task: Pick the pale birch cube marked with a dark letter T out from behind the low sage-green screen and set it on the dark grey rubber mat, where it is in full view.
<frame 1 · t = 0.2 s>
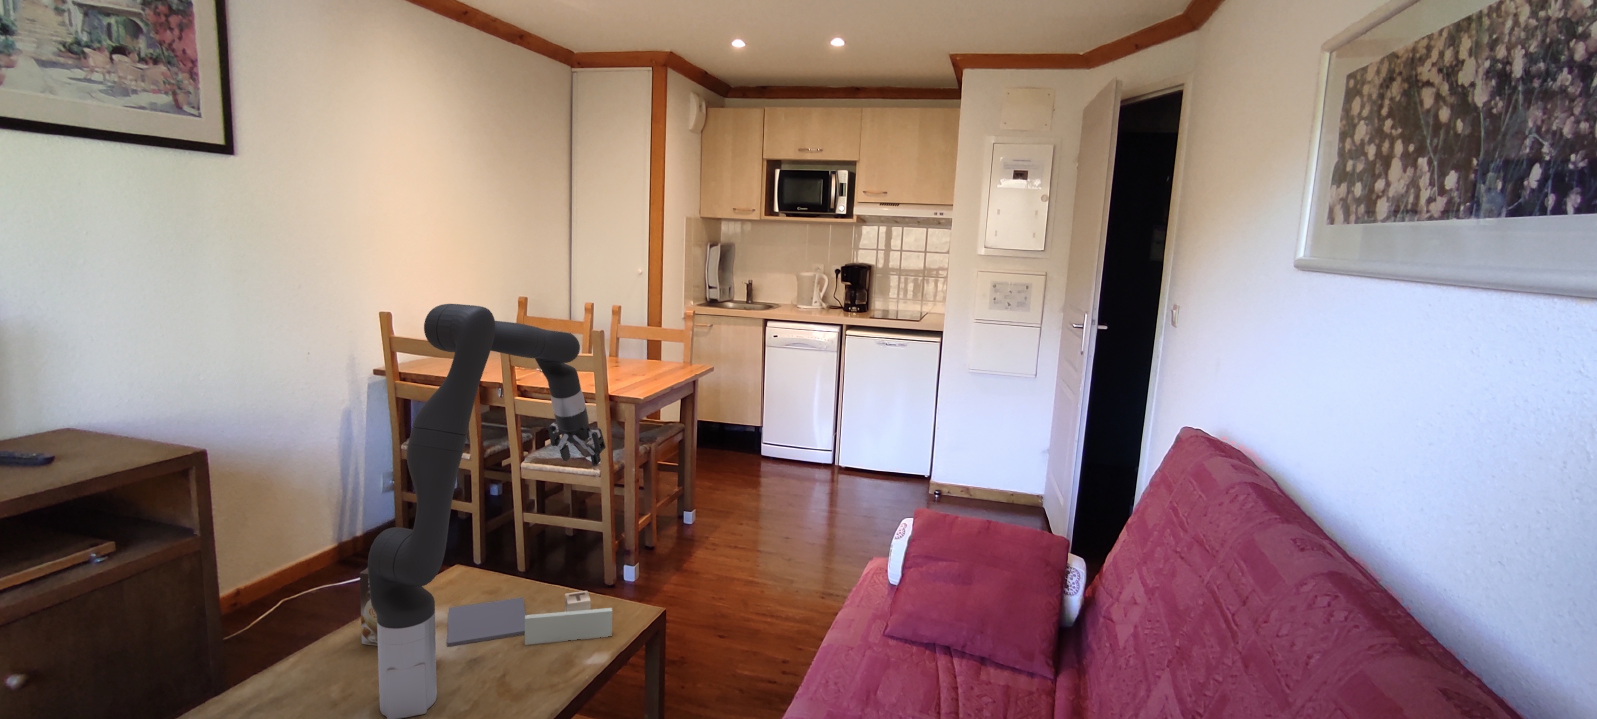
hand: (581, 461, 181), 31 cm above the table, tool tilted 20°, fingers open, 8 cm apart
letter cube: (577, 617, 166), on the table
coffee box: (390, 639, 152), on the table
mat: (487, 621, 161), on the table
screen: (569, 638, 156), on the table
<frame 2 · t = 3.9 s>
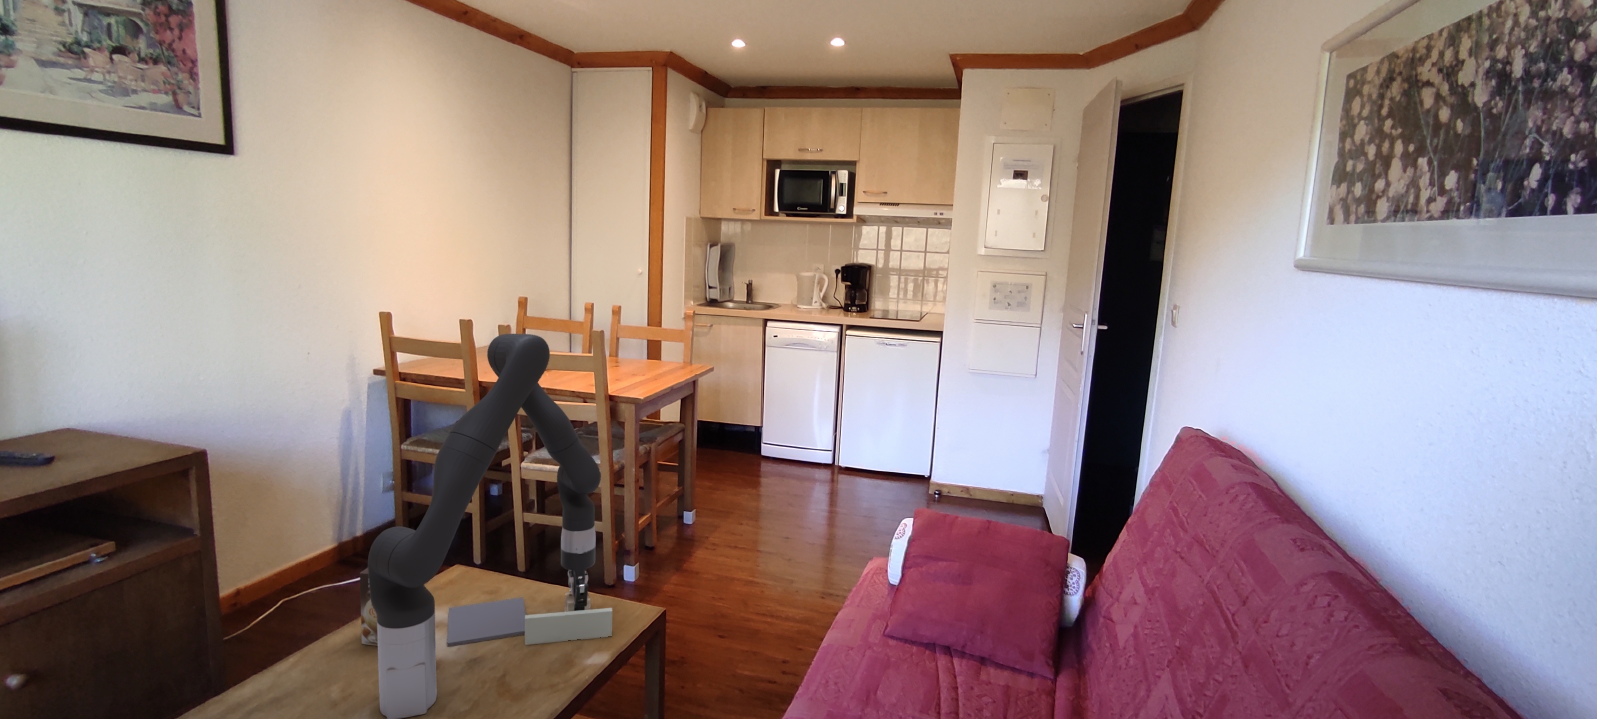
hand: (577, 613, 165), 1 cm above the table, tool pointing down, fingers closed on letter cube, 5 cm apart
letter cube: (577, 616, 166), on the table, touching gripper
everything else where it was.
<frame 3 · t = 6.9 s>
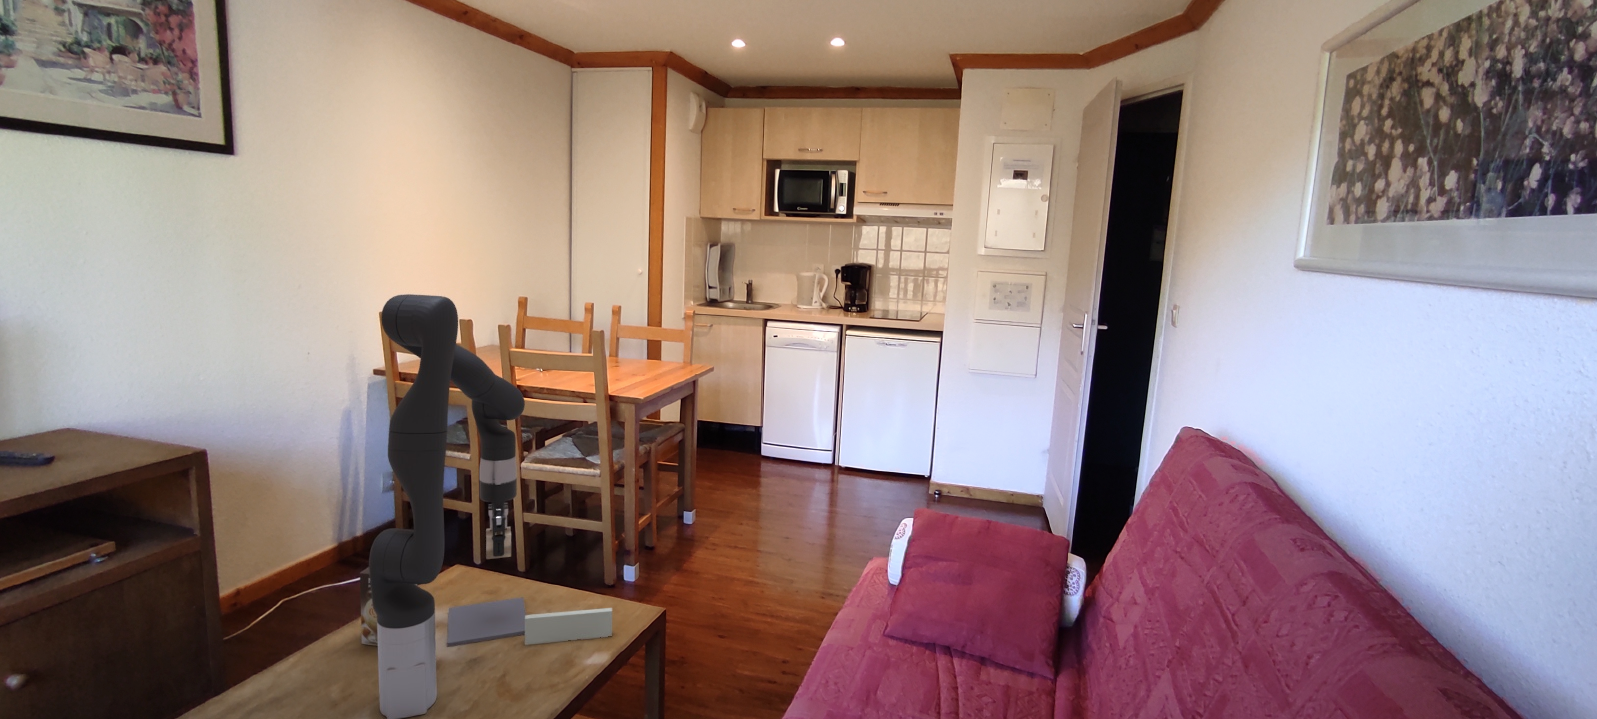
hand: (498, 550, 159), 17 cm above the table, tool pointing down, fingers closed on letter cube, 5 cm apart
letter cube: (498, 553, 159), point 16 cm above the table, touching gripper
everything else where it was.
when the fingers open (3 cm above the table, at t = 10.4 s): letter cube drops 1 cm, resting on mat.
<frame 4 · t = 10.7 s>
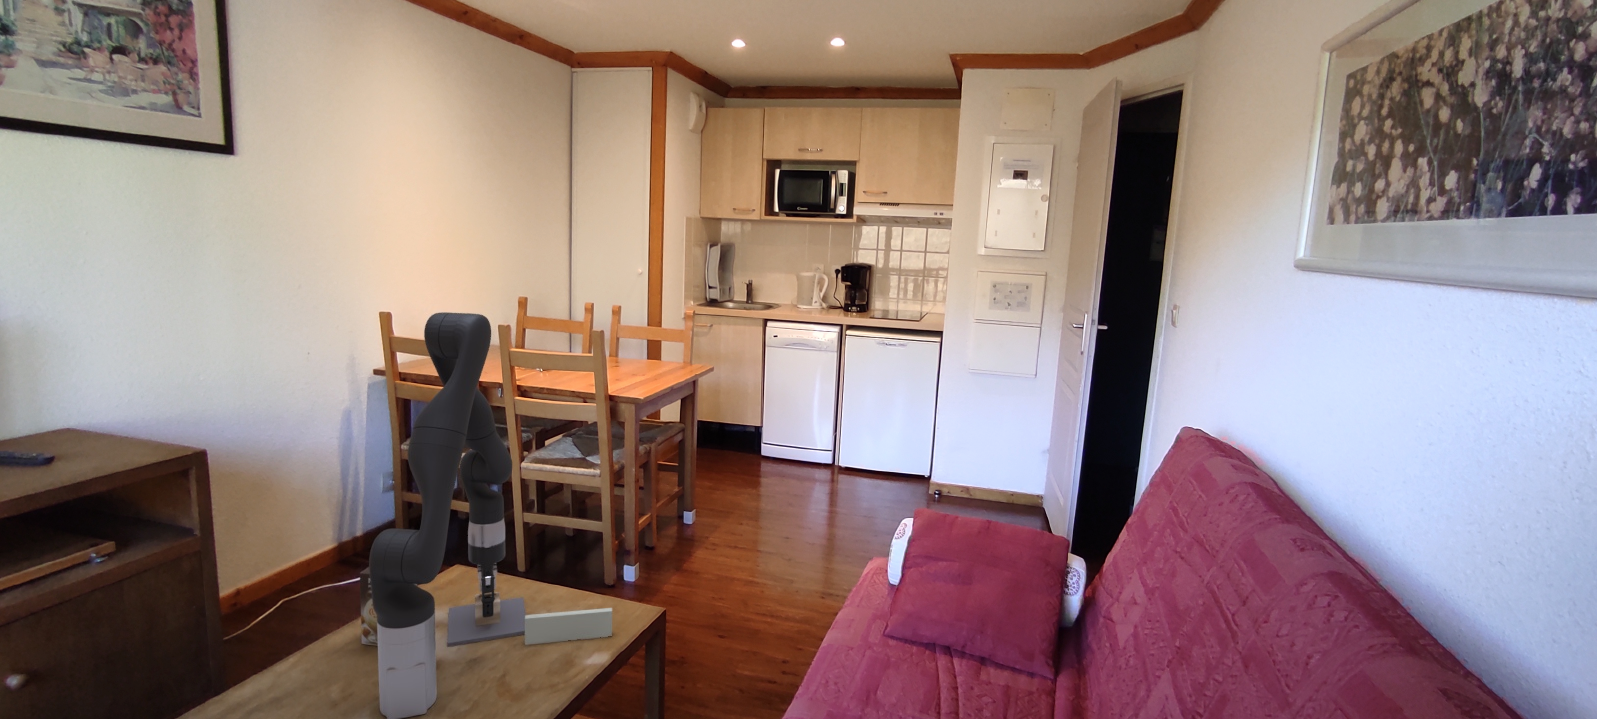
hand: (487, 607, 161), 3 cm above the table, tool pointing down, fingers open, 7 cm apart
letter cube: (487, 618, 161), point 1 cm above the table, touching mat
everything else where it was.
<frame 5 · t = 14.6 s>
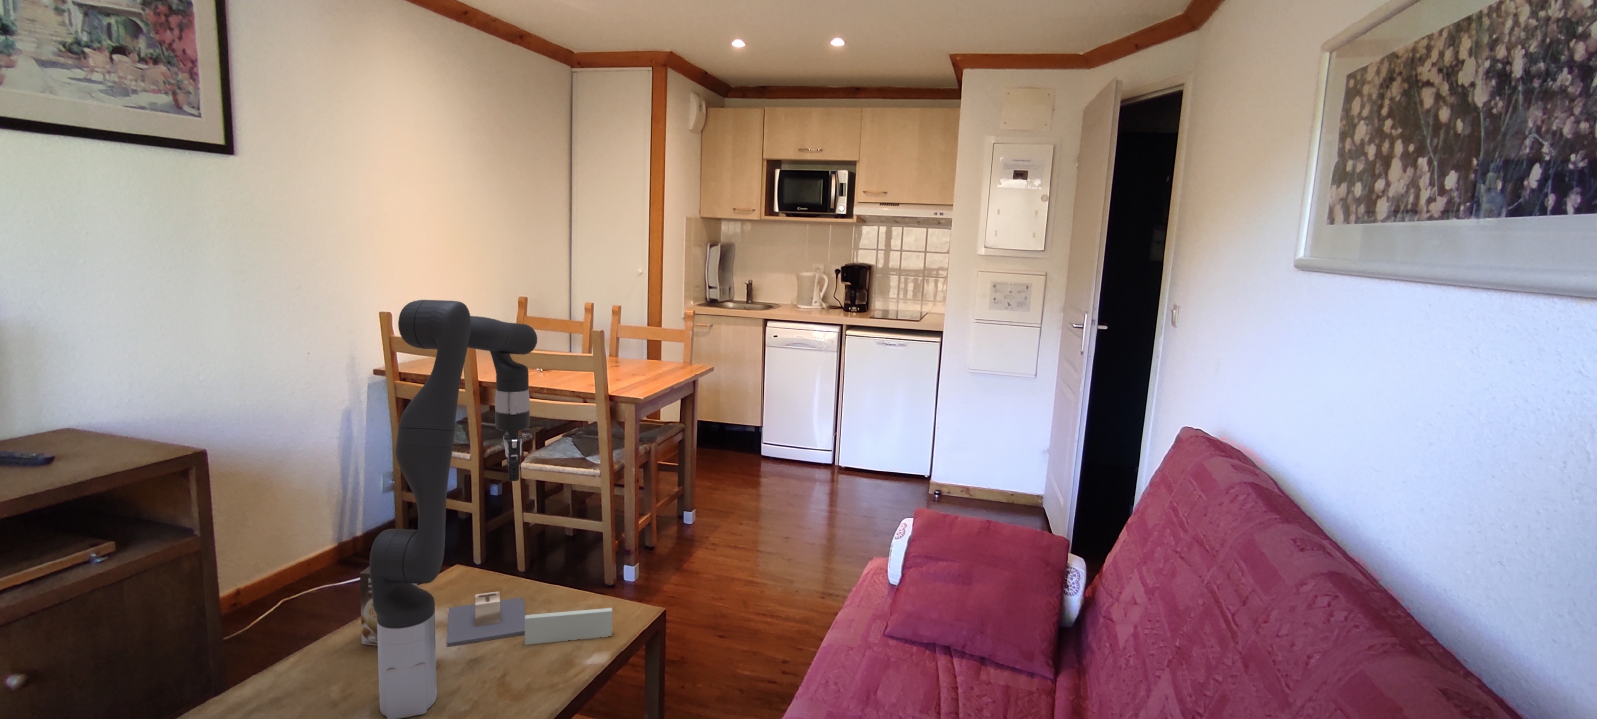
hand: (512, 474, 170), 30 cm above the table, tool pointing down, fingers open, 8 cm apart
nothing on the table moved.
at the end: letter cube inside the target area on the mat (0.1 cm from its centre), point 0.8 cm above the mat's base; letter cube tilted 0°; the gripper is holding nothing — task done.
